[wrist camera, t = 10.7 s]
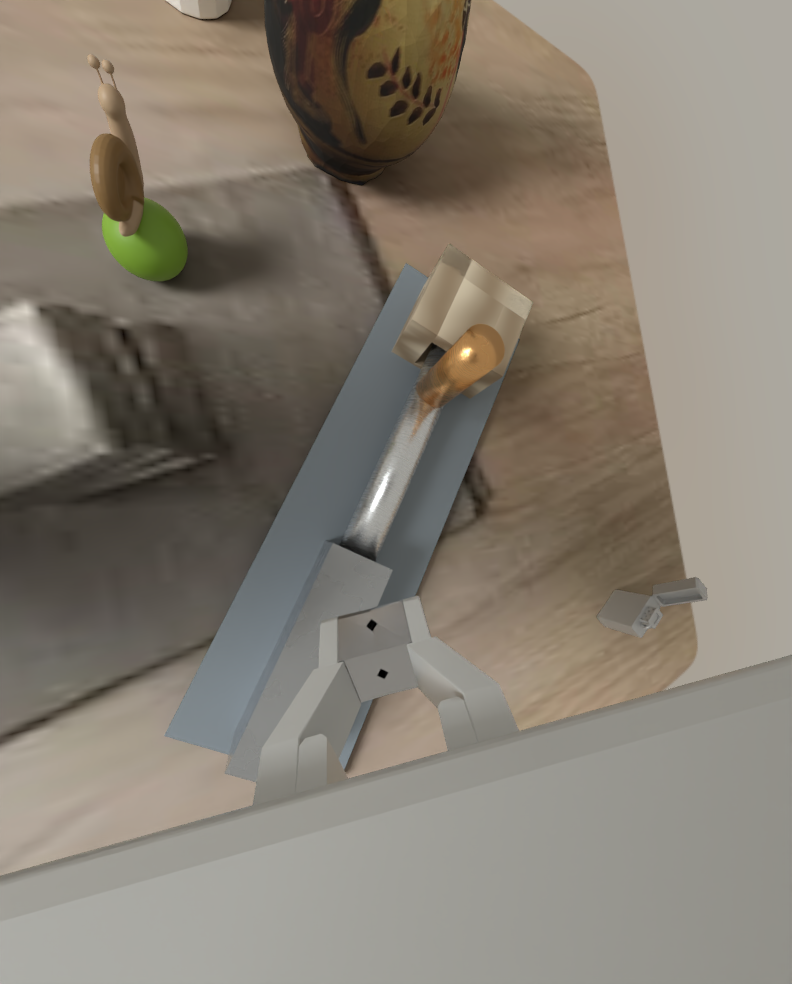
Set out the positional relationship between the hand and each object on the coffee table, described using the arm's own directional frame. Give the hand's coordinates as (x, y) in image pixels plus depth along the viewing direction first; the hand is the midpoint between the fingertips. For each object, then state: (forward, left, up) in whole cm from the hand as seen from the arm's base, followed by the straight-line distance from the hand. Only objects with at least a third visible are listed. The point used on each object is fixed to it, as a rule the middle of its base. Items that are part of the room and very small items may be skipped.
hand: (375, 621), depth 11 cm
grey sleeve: (+3, -6, -21) cm, 22 cm away
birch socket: (+3, +24, -21) cm, 33 cm away
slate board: (+3, +7, -23) cm, 24 cm away
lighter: (+33, +9, -23) cm, 41 cm away
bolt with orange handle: (+3, +11, -21) cm, 24 cm away
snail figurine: (-22, +17, -23) cm, 36 cm away
